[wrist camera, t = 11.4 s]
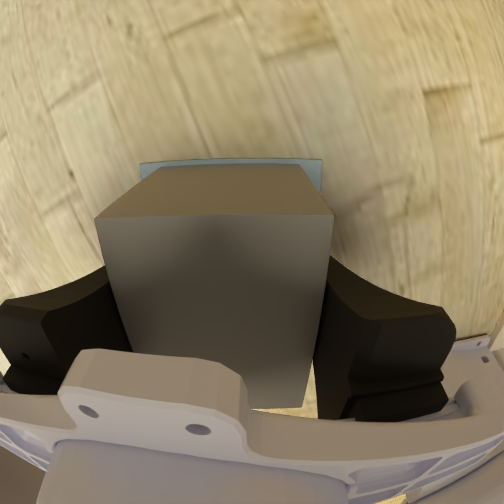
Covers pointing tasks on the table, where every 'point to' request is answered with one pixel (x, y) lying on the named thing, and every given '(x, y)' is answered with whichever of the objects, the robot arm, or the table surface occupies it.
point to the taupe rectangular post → (223, 270)
